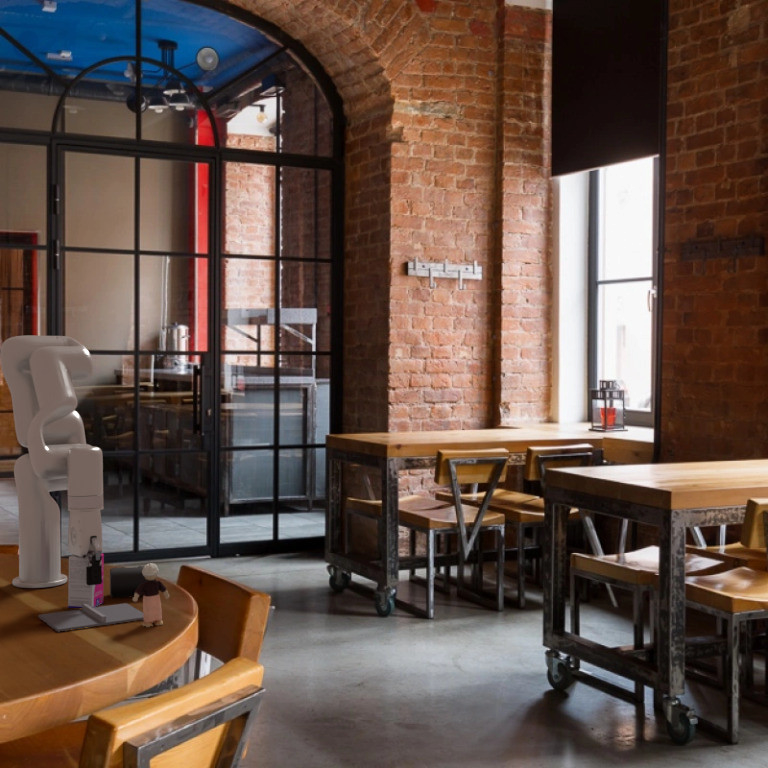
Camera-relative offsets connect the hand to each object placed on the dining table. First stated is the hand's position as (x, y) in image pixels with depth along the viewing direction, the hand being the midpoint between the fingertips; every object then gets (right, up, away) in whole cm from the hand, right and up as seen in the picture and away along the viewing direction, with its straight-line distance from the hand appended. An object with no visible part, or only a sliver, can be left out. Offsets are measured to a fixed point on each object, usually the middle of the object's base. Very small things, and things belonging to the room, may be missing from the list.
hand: (87, 581), depth 232 cm
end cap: (+7, -6, +11) cm, 14 cm away
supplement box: (0, -6, +1) cm, 6 cm away
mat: (+4, -6, -10) cm, 12 cm away
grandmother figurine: (+17, -6, -15) cm, 24 cm away
